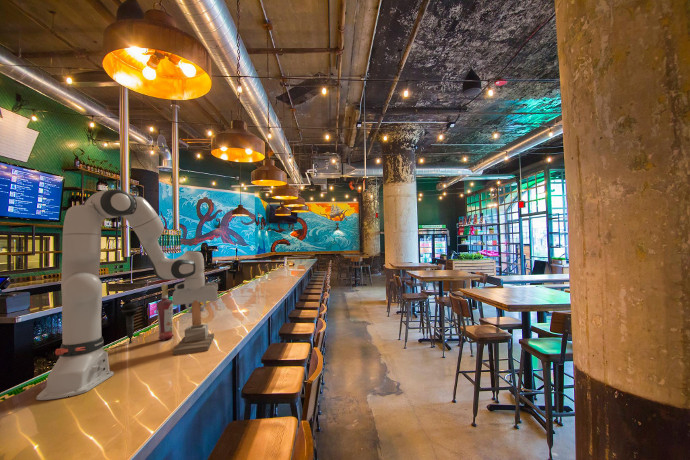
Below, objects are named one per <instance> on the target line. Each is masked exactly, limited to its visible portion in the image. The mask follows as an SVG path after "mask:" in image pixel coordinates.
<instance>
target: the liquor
mask: <svg viewBox="0 0 690 460" xmlns="http://www.w3.org/2000/svg"><path fill="white" fill-rule="evenodd" d="M160 286H161V300H159V301H157V302H156V312H157V323H158V339H159V340H160V341H168V340H171V339H173V337H174V334H173V333H174V332H173V323H174V322H173V320H174V319H173V318H174V317H173V316H174V305H173V304H172V299H169V294H168V284H167V283H165V284H161V285H160Z"/></svg>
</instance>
